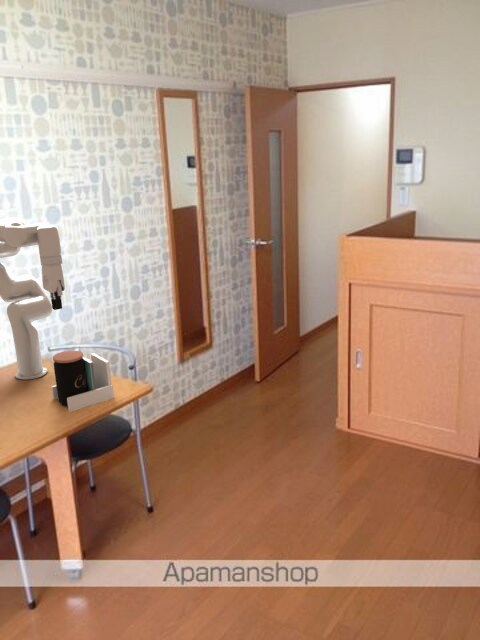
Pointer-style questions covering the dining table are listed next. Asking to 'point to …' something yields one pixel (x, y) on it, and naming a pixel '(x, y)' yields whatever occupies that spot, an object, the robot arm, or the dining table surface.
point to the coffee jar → (69, 375)
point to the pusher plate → (89, 374)
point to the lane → (95, 396)
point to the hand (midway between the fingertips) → (57, 308)
